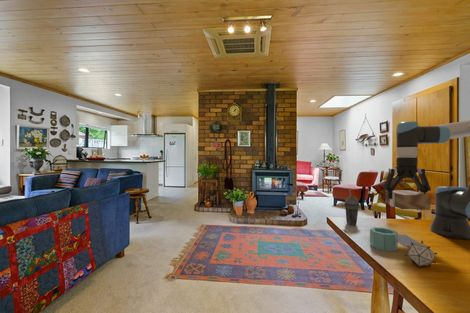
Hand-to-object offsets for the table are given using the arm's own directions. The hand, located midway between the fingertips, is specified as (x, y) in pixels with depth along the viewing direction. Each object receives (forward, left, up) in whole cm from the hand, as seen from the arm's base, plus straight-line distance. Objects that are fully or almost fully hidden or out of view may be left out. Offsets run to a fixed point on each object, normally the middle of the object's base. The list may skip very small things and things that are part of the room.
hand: (406, 206), depth 103 cm
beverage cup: (+15, -21, -16) cm, 30 cm away
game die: (+9, +24, -16) cm, 30 cm away
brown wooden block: (0, 0, 0) cm, 0 cm away
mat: (0, 0, -15) cm, 15 cm away
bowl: (+14, +9, -15) cm, 23 cm away
